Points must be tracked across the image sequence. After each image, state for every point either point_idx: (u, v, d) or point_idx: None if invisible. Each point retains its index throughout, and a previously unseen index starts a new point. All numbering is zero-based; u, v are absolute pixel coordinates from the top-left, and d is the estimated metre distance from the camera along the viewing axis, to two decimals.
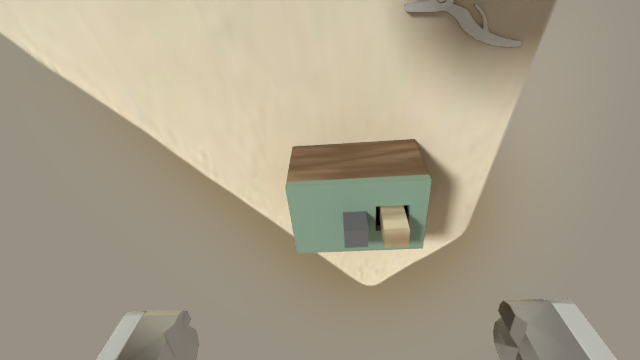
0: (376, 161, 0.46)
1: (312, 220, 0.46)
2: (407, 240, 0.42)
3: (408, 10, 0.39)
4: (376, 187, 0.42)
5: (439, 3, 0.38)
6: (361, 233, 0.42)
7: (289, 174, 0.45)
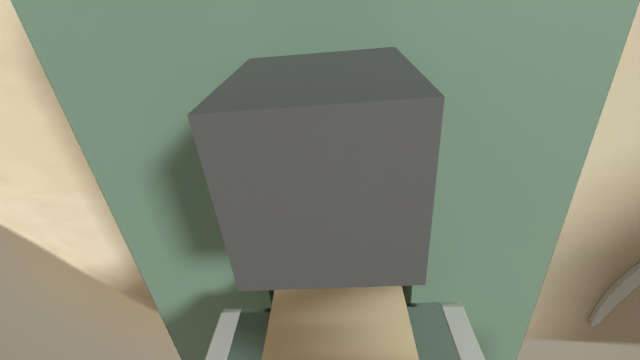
0: None
1: None
2: None
3: None
4: (536, 213, 0.09)
5: None
6: (385, 244, 0.05)
7: None
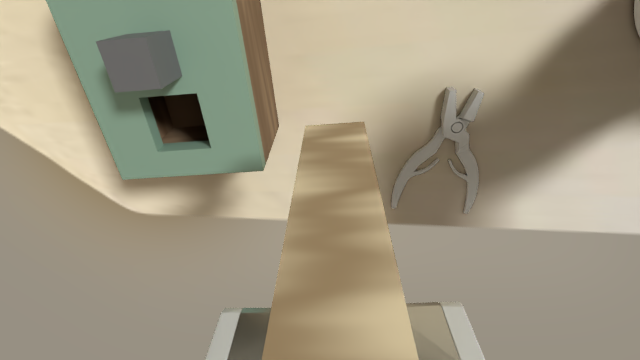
0: (260, 80, 0.29)
1: None
2: None
3: (450, 93, 0.33)
4: (237, 91, 0.25)
5: (451, 125, 0.35)
6: (147, 75, 0.21)
7: None
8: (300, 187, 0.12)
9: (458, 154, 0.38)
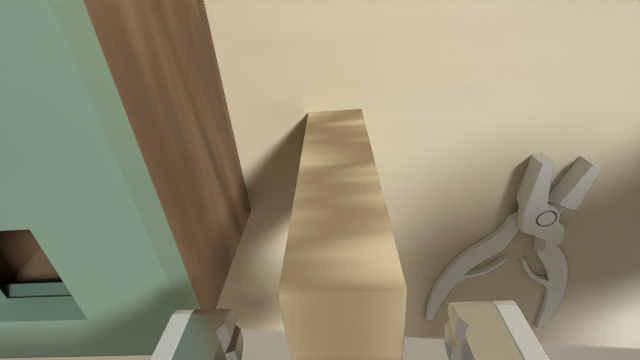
0: (200, 167, 0.15)
1: None
2: None
3: (543, 167, 0.19)
4: (120, 226, 0.11)
5: (537, 216, 0.21)
6: None
7: None
8: (305, 161, 0.14)
9: (539, 252, 0.23)
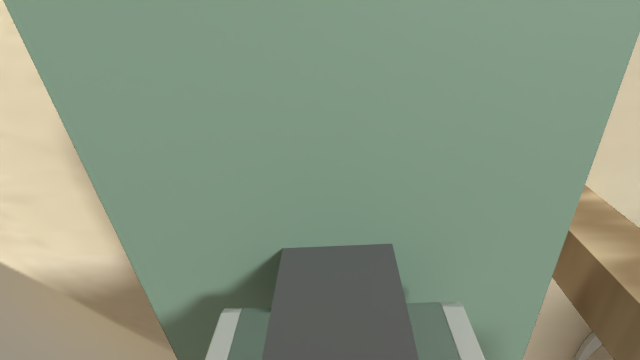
0: None
1: (339, 95, 0.07)
2: None
3: None
4: (504, 341, 0.11)
5: None
6: None
7: None
8: (597, 252, 0.14)
9: None
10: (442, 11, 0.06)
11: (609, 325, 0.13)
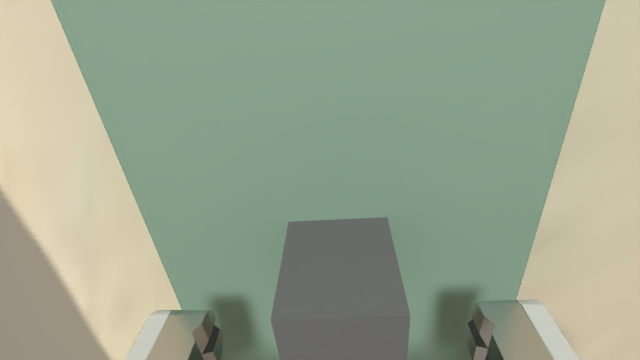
0: None
1: (339, 81, 0.08)
2: None
3: None
4: None
5: None
6: None
7: None
8: None
9: None
10: (428, 7, 0.07)
11: None
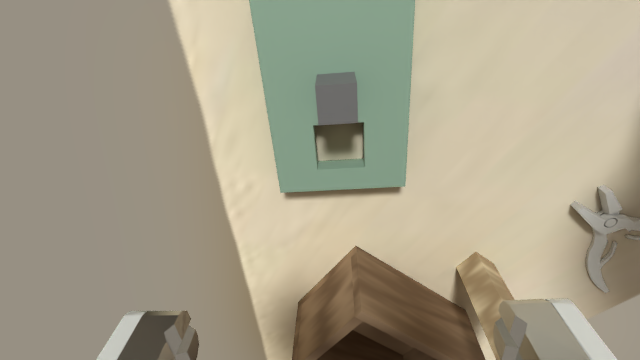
0: (442, 327, 0.37)
1: (336, 15, 0.25)
2: None
3: (580, 212, 0.34)
4: (399, 120, 0.29)
5: (603, 225, 0.35)
6: (349, 112, 0.25)
7: (362, 297, 0.33)
8: (476, 309, 0.35)
9: (631, 229, 0.36)
10: None
11: None
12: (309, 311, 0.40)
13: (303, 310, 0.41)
